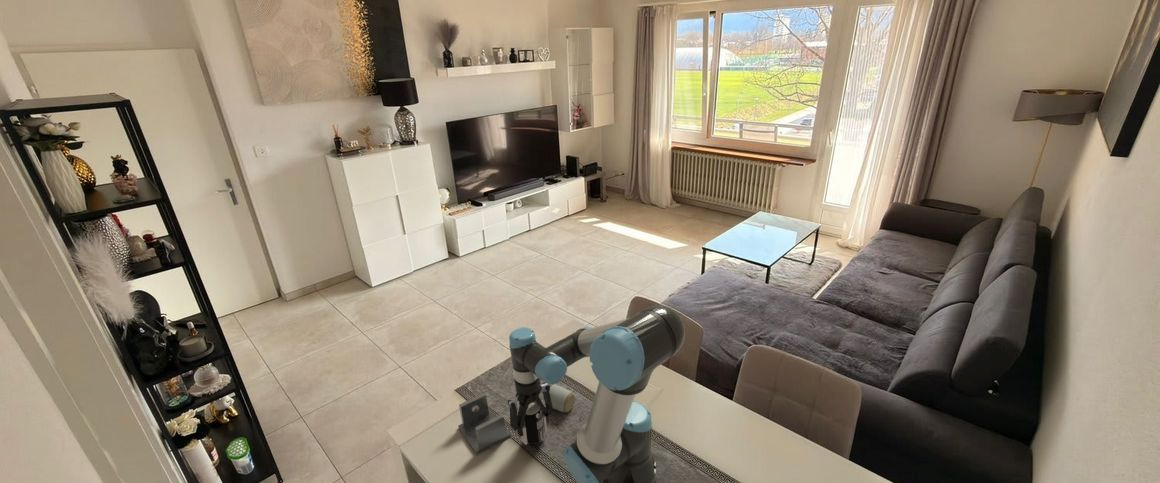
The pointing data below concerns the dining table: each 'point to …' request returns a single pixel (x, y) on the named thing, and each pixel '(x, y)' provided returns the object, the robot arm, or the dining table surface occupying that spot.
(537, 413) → the beverage can
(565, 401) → the ceramic mug
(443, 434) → the dining table surface
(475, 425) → the holder
